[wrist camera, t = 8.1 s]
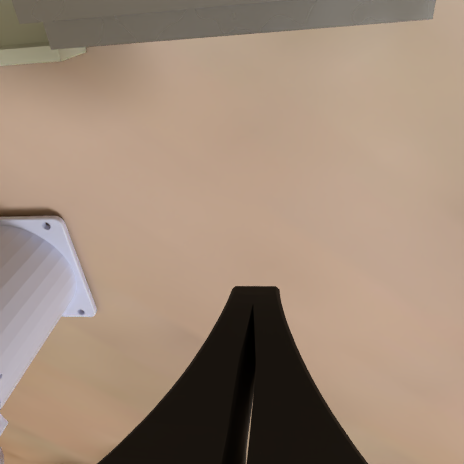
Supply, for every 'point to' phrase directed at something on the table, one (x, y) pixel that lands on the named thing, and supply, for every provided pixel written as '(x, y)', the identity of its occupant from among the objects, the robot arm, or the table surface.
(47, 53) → the tray
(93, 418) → the table surface
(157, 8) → the rail
